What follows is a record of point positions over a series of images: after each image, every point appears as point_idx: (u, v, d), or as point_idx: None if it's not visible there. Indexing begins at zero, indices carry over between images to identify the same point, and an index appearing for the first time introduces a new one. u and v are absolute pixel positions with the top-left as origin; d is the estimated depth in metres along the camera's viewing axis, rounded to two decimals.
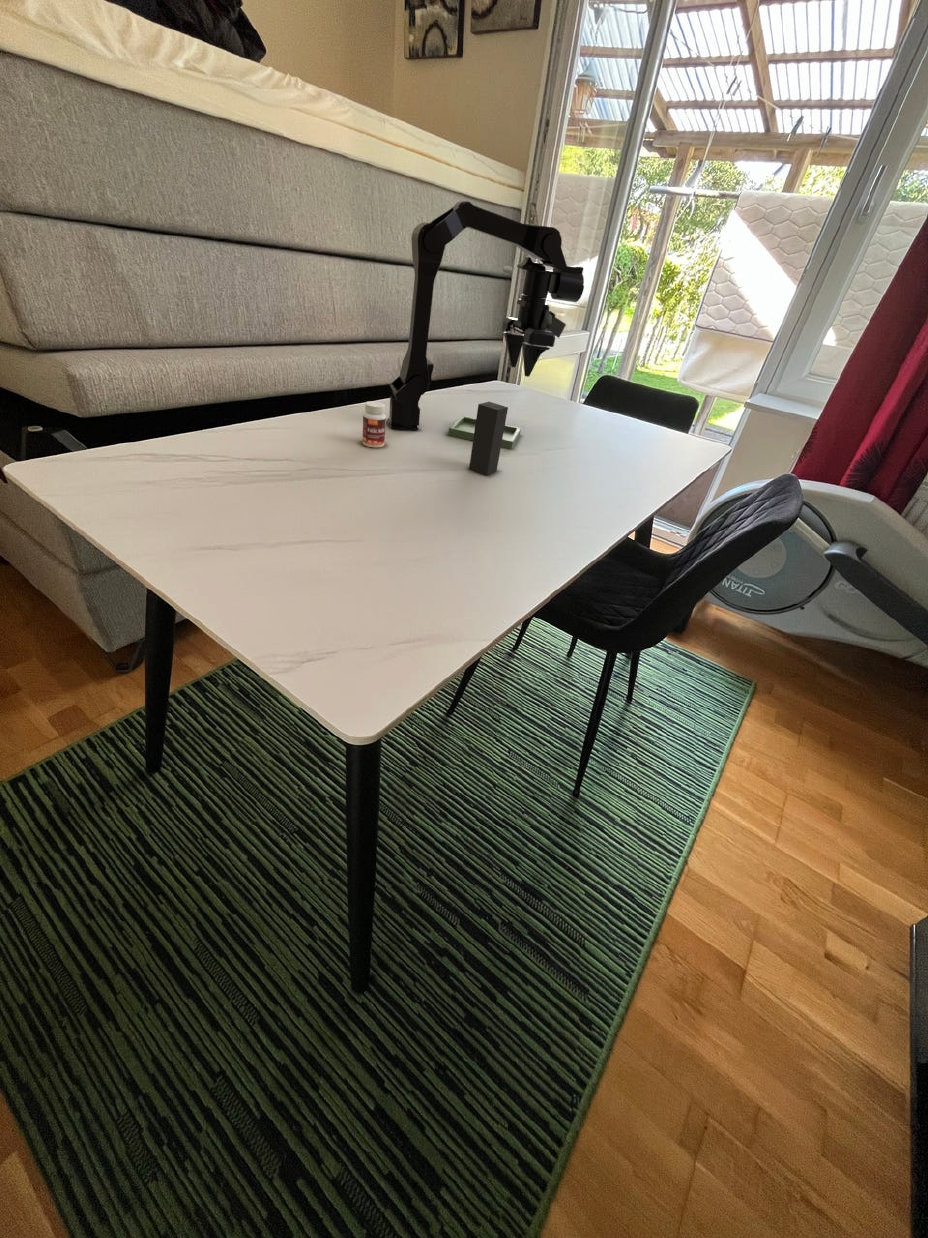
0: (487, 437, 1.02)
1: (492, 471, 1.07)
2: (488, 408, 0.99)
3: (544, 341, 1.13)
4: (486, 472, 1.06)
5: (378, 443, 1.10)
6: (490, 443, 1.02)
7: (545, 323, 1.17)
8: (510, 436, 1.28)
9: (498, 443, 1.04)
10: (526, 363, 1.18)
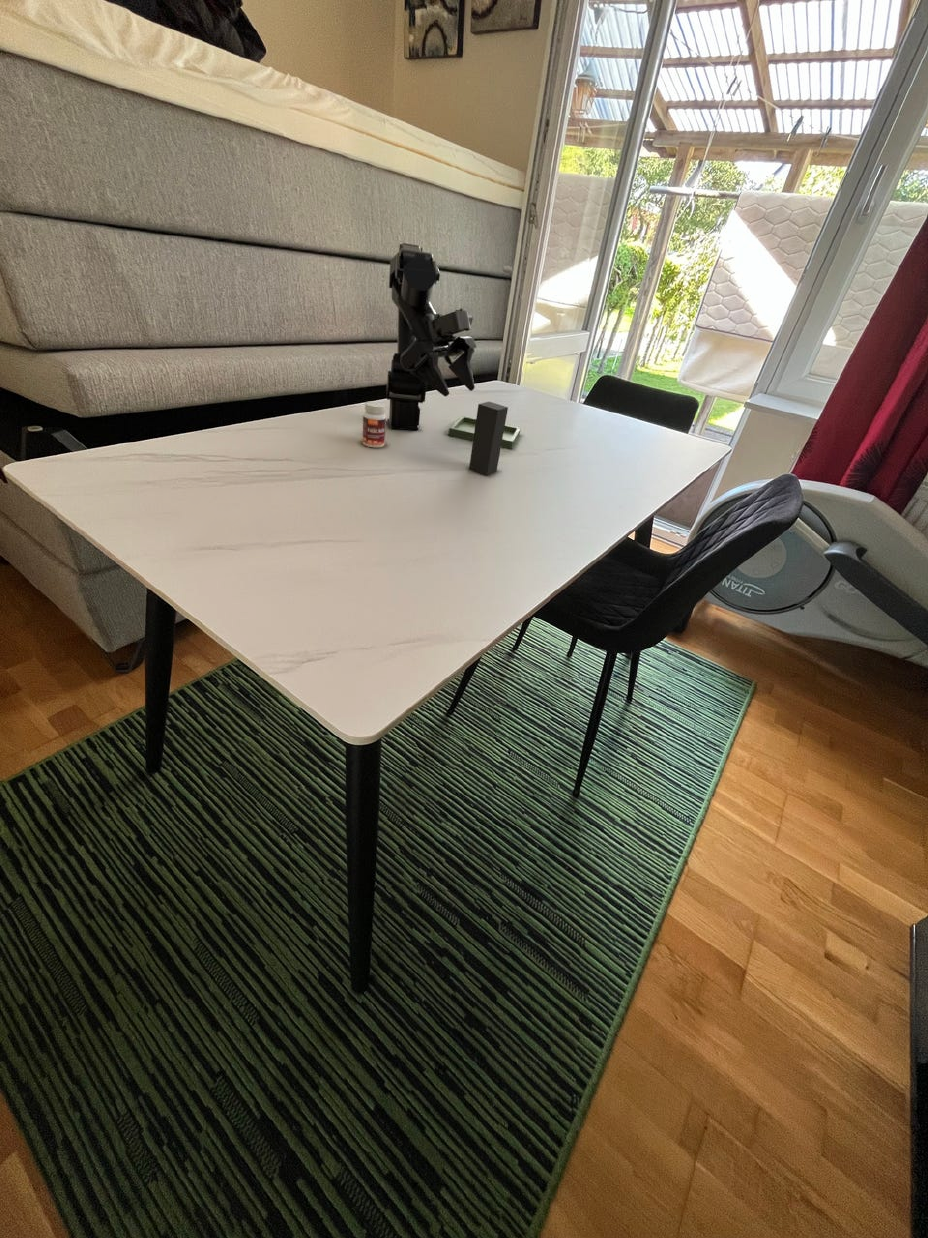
0: (487, 437, 1.02)
1: (492, 471, 1.07)
2: (488, 408, 0.99)
3: (412, 356, 0.95)
4: (486, 472, 1.06)
5: (378, 443, 1.10)
6: (490, 443, 1.02)
7: (433, 332, 0.98)
8: (510, 436, 1.28)
9: (498, 443, 1.04)
10: (432, 385, 1.00)
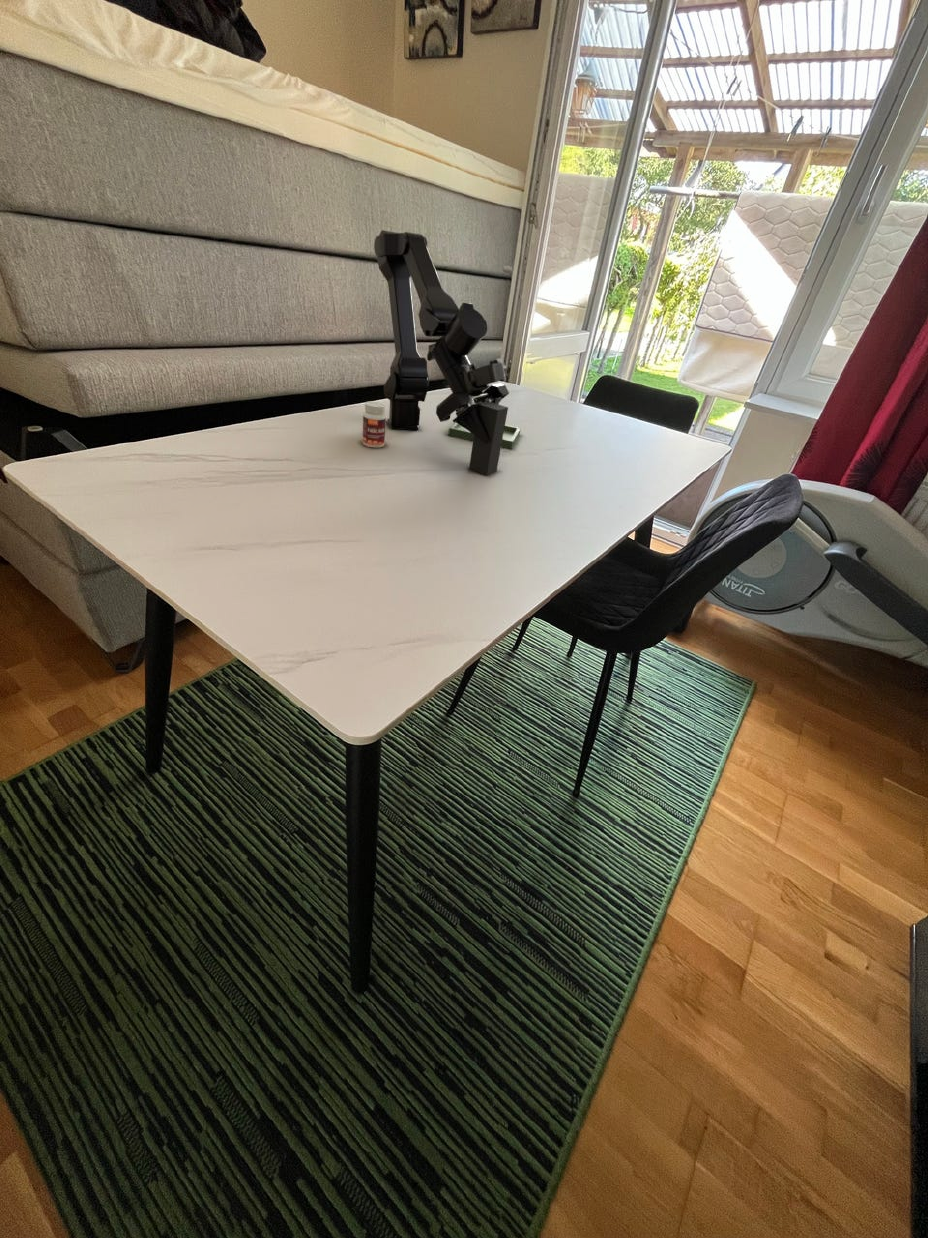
0: None
1: (492, 471, 1.07)
2: (488, 408, 0.99)
3: (448, 408, 0.96)
4: (486, 472, 1.06)
5: (378, 443, 1.10)
6: (490, 443, 1.02)
7: (468, 383, 0.98)
8: (510, 436, 1.28)
9: (498, 443, 1.04)
10: (474, 433, 1.02)
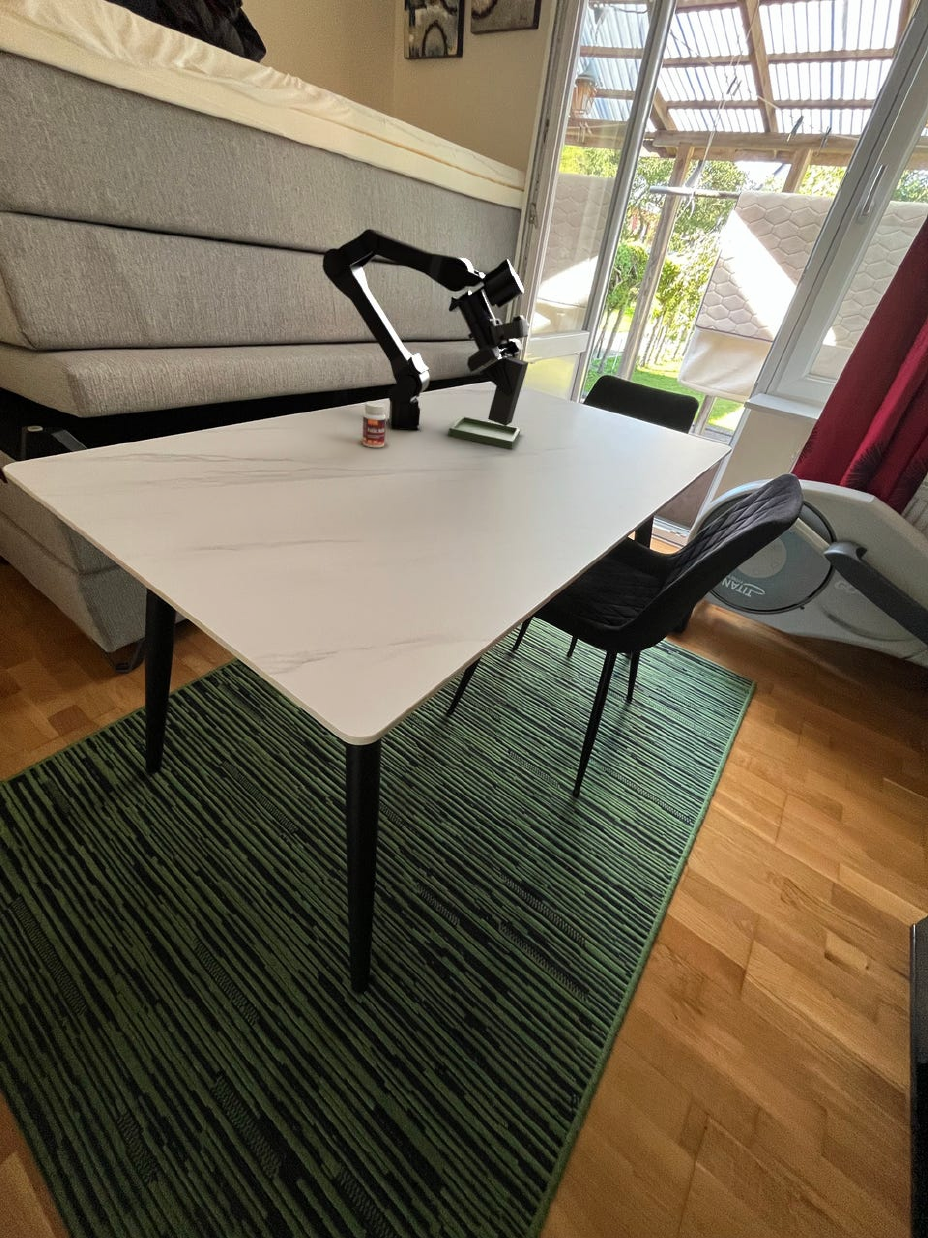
0: None
1: (509, 422, 1.17)
2: (513, 362, 1.08)
3: (481, 360, 1.03)
4: (505, 422, 1.15)
5: (378, 443, 1.10)
6: (511, 395, 1.12)
7: (496, 337, 1.06)
8: (510, 436, 1.28)
9: (517, 395, 1.14)
10: (497, 385, 1.11)
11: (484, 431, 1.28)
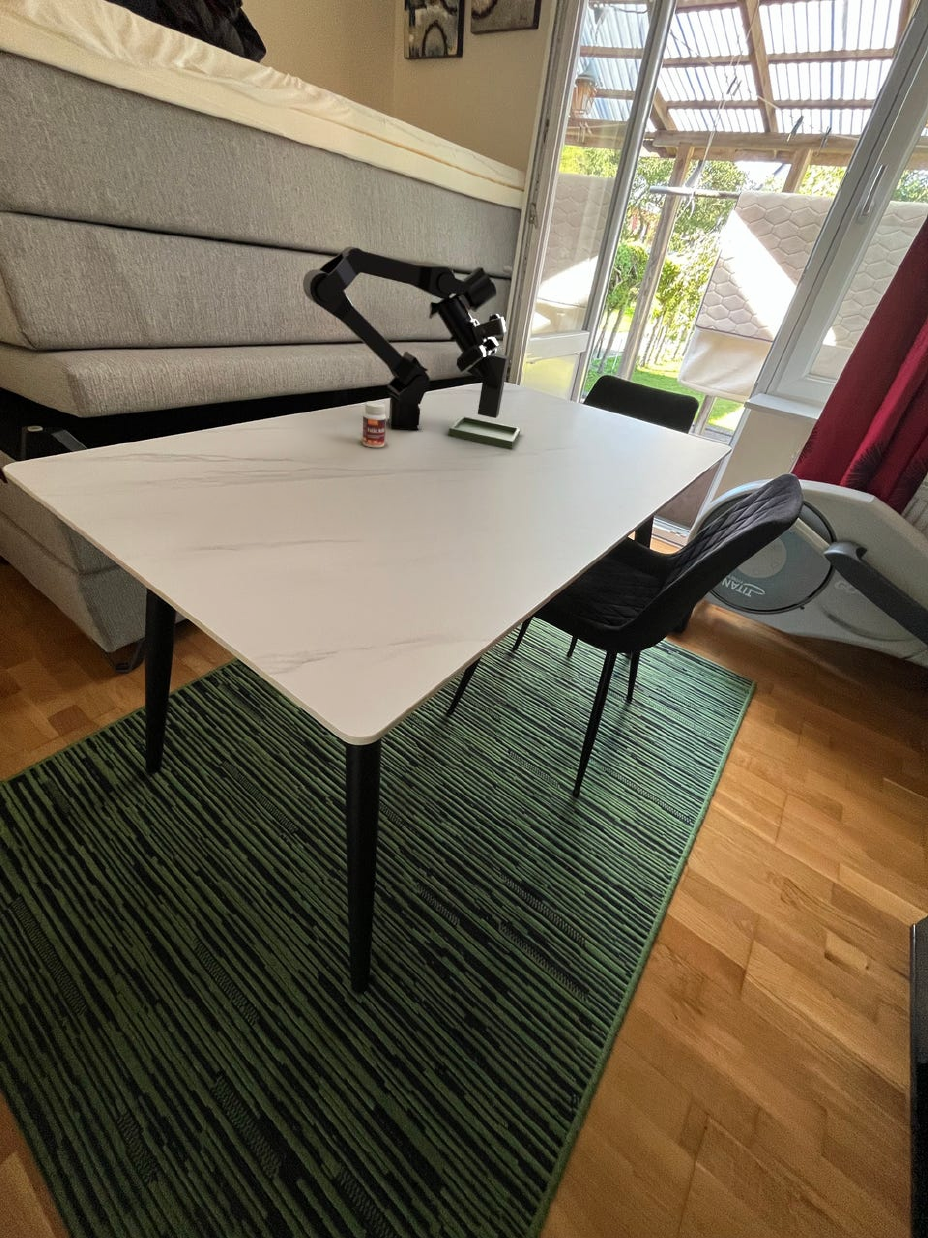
0: None
1: (497, 414, 1.24)
2: (496, 357, 1.16)
3: (470, 358, 1.10)
4: (495, 415, 1.23)
5: (378, 443, 1.10)
6: (498, 388, 1.19)
7: (478, 336, 1.13)
8: (510, 436, 1.28)
9: (502, 388, 1.21)
10: (484, 380, 1.18)
11: (484, 431, 1.28)
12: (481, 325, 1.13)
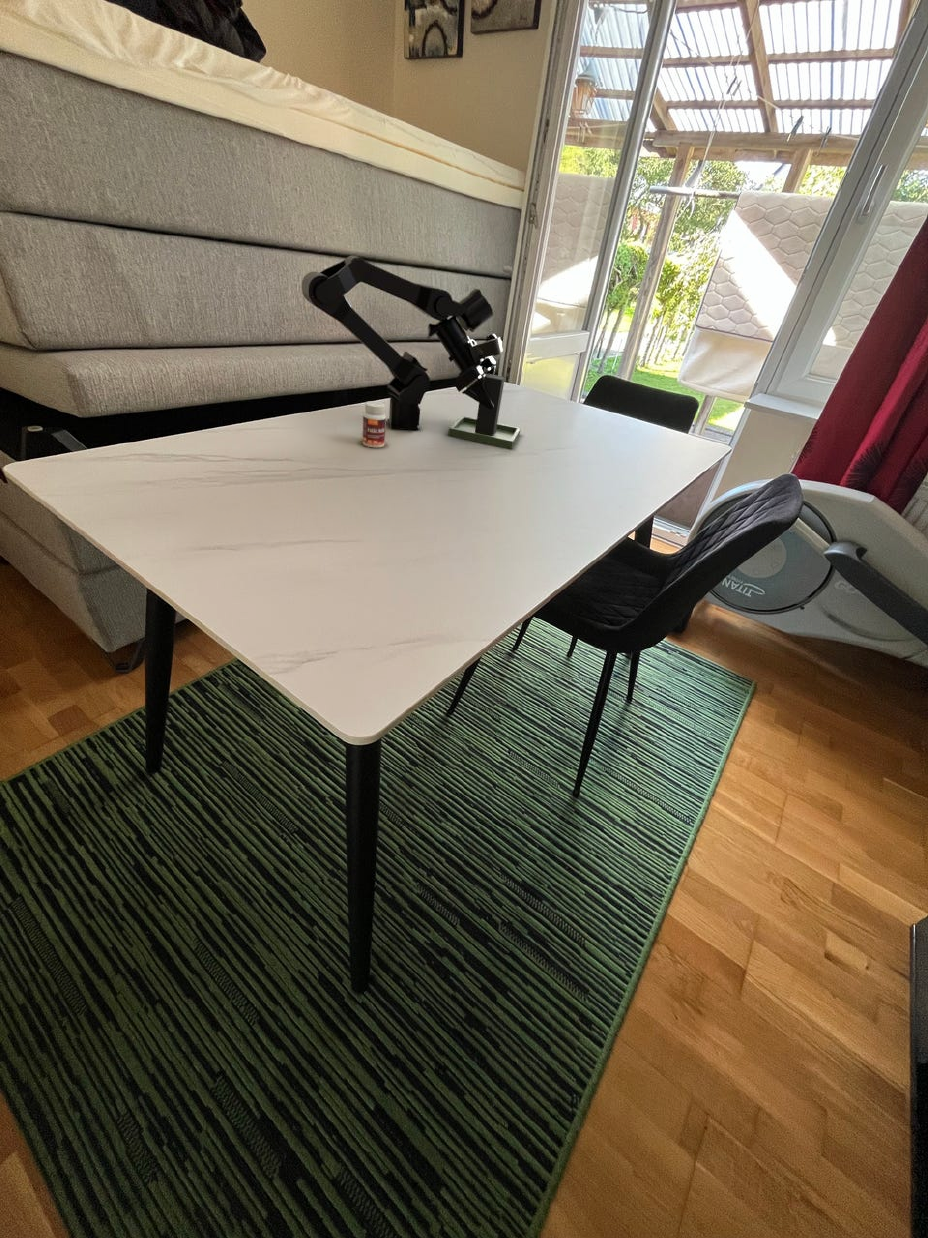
0: None
1: (494, 433, 1.27)
2: (493, 379, 1.18)
3: (468, 379, 1.13)
4: (491, 434, 1.25)
5: (378, 443, 1.10)
6: (494, 409, 1.22)
7: (475, 356, 1.16)
8: (510, 436, 1.28)
9: (498, 408, 1.24)
10: (480, 401, 1.18)
11: None
12: (478, 346, 1.15)
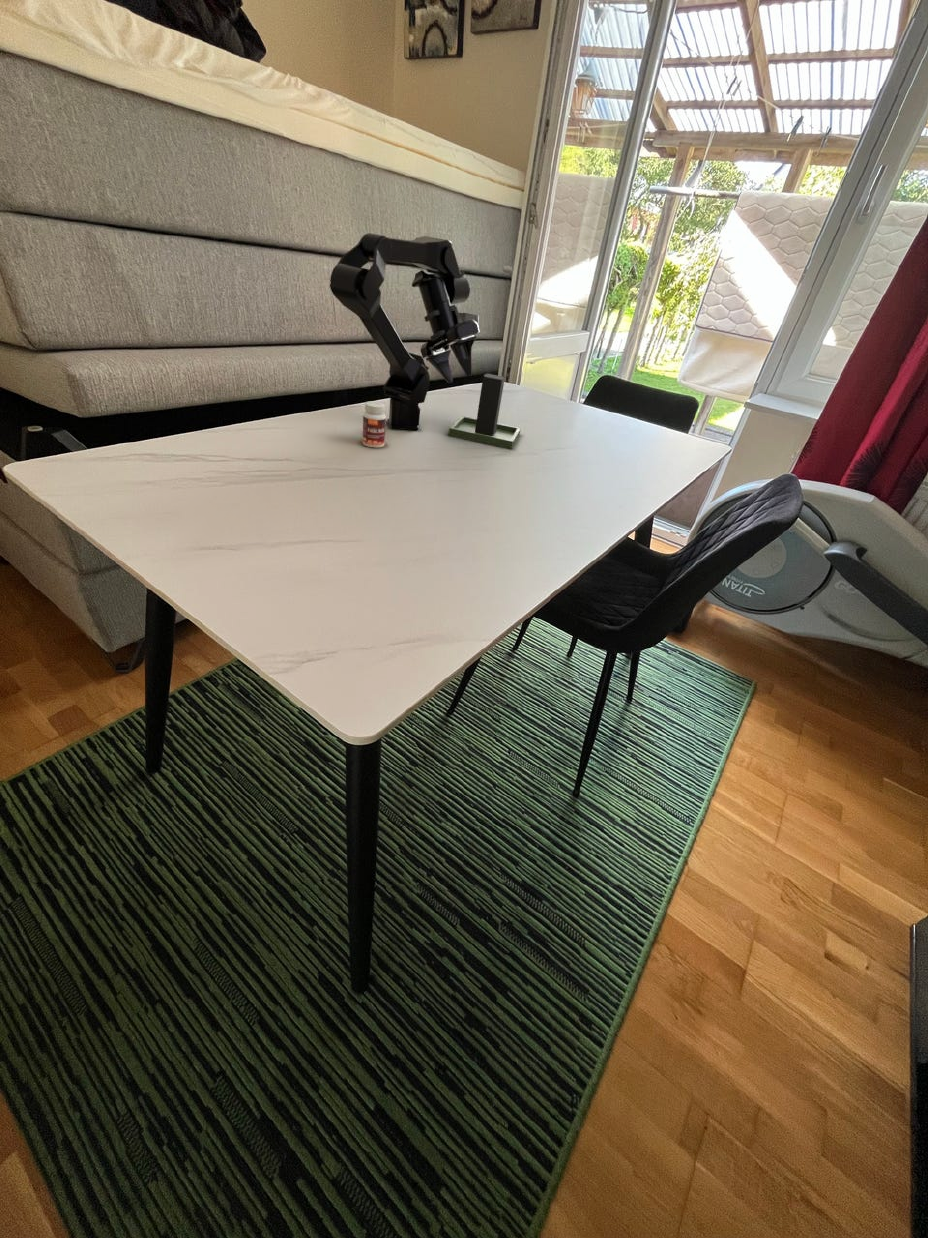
0: (492, 403, 1.21)
1: (494, 433, 1.27)
2: (493, 379, 1.18)
3: (469, 329, 1.10)
4: (491, 434, 1.25)
5: (378, 443, 1.10)
6: (494, 409, 1.22)
7: (460, 321, 1.15)
8: (510, 436, 1.28)
9: (498, 408, 1.24)
10: (463, 362, 1.15)
11: None
12: (463, 314, 1.16)
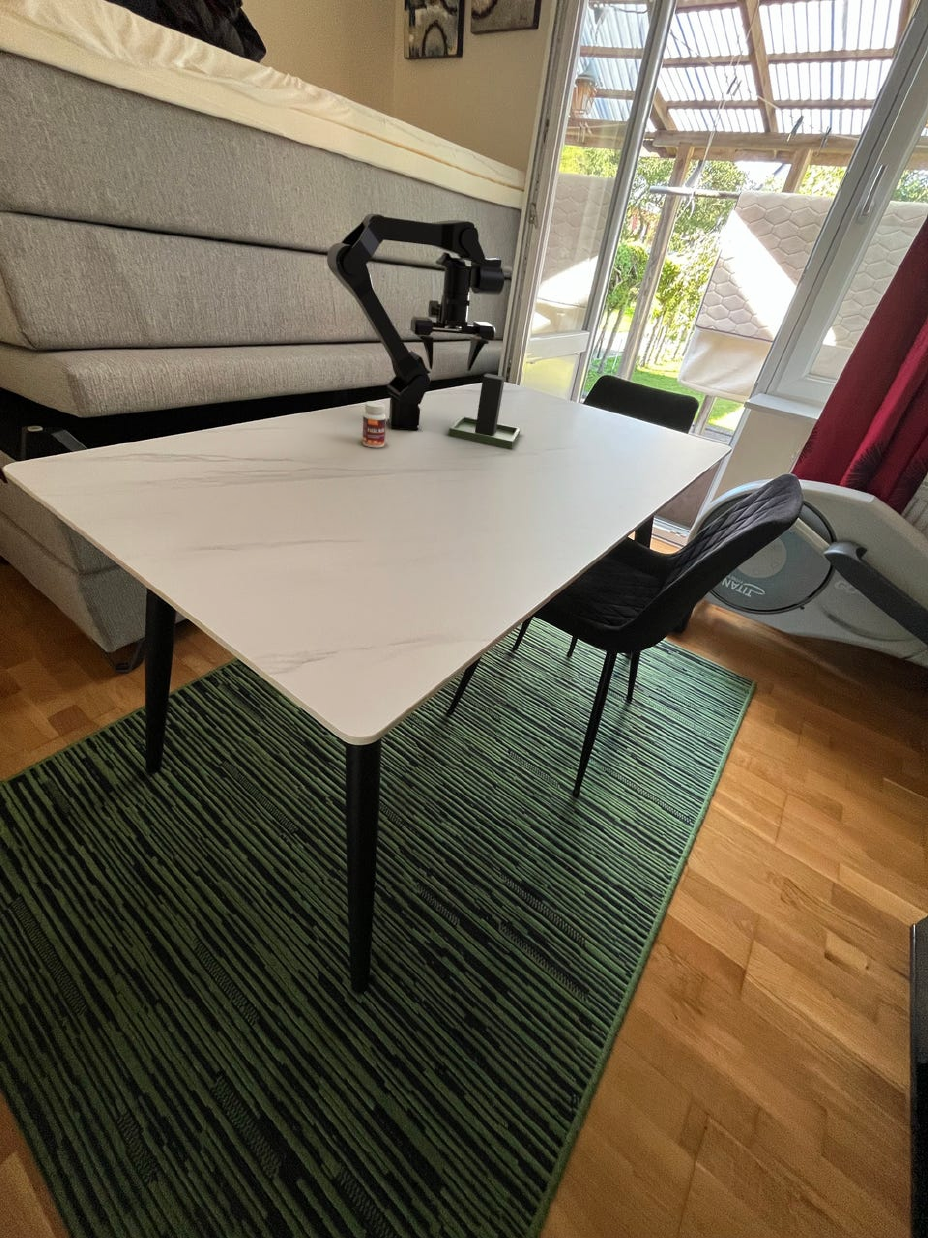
0: (492, 403, 1.21)
1: (494, 433, 1.27)
2: (493, 379, 1.18)
3: None
4: (491, 434, 1.25)
5: (378, 443, 1.10)
6: (494, 409, 1.22)
7: None
8: (510, 436, 1.28)
9: (498, 408, 1.24)
10: None
11: None
12: None
